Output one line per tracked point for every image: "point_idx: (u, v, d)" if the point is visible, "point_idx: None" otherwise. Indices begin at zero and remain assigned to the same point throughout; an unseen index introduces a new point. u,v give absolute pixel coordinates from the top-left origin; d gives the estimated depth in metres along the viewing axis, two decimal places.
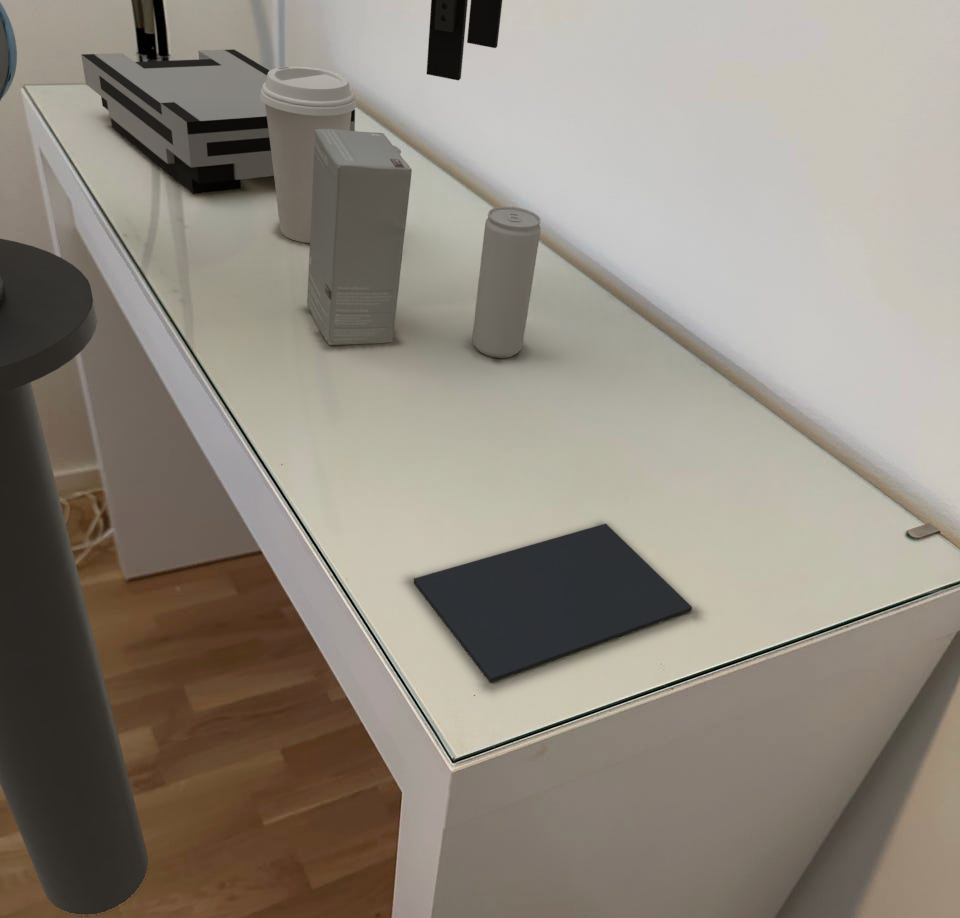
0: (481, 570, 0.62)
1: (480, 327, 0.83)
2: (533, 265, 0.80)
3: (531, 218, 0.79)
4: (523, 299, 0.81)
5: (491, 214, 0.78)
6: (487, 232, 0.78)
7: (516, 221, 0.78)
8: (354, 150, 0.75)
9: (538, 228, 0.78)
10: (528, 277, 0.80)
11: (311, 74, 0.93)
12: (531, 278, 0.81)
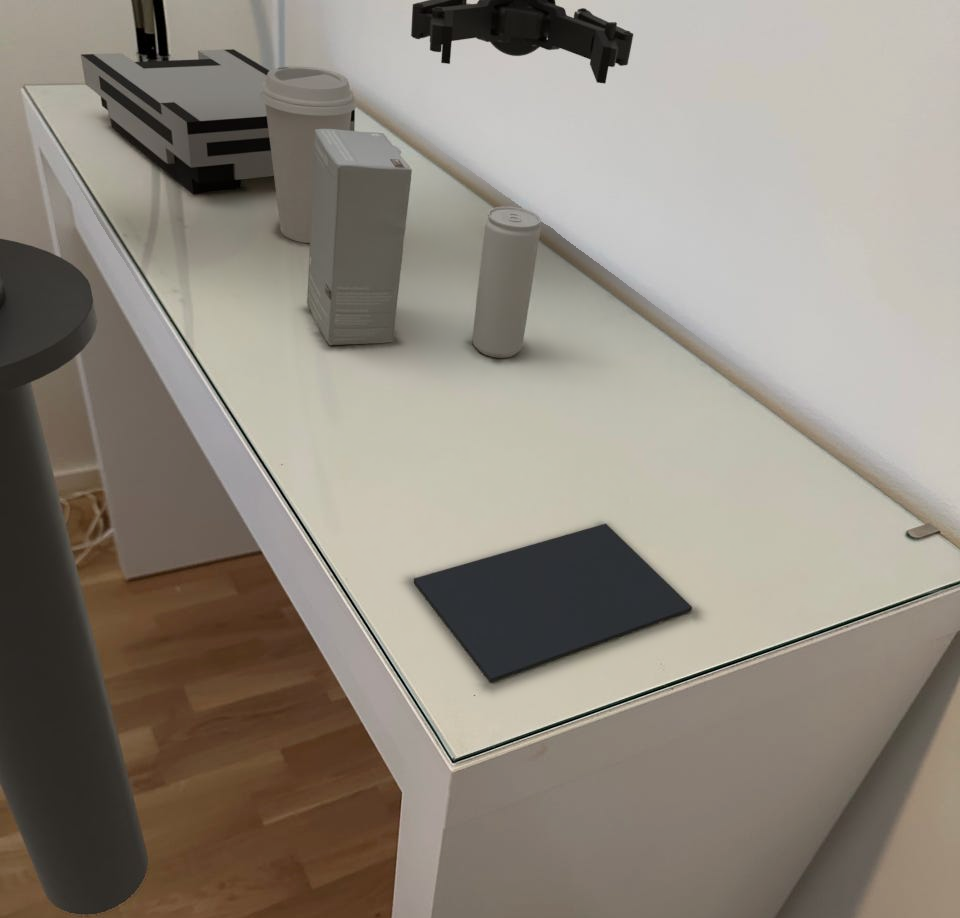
0: (481, 570, 0.62)
1: (480, 327, 0.83)
2: (533, 265, 0.80)
3: (531, 218, 0.79)
4: (523, 299, 0.81)
5: (491, 214, 0.78)
6: (487, 232, 0.78)
7: (516, 221, 0.78)
8: (354, 150, 0.75)
9: (538, 228, 0.78)
10: (528, 277, 0.80)
11: (311, 74, 0.93)
12: (531, 278, 0.81)
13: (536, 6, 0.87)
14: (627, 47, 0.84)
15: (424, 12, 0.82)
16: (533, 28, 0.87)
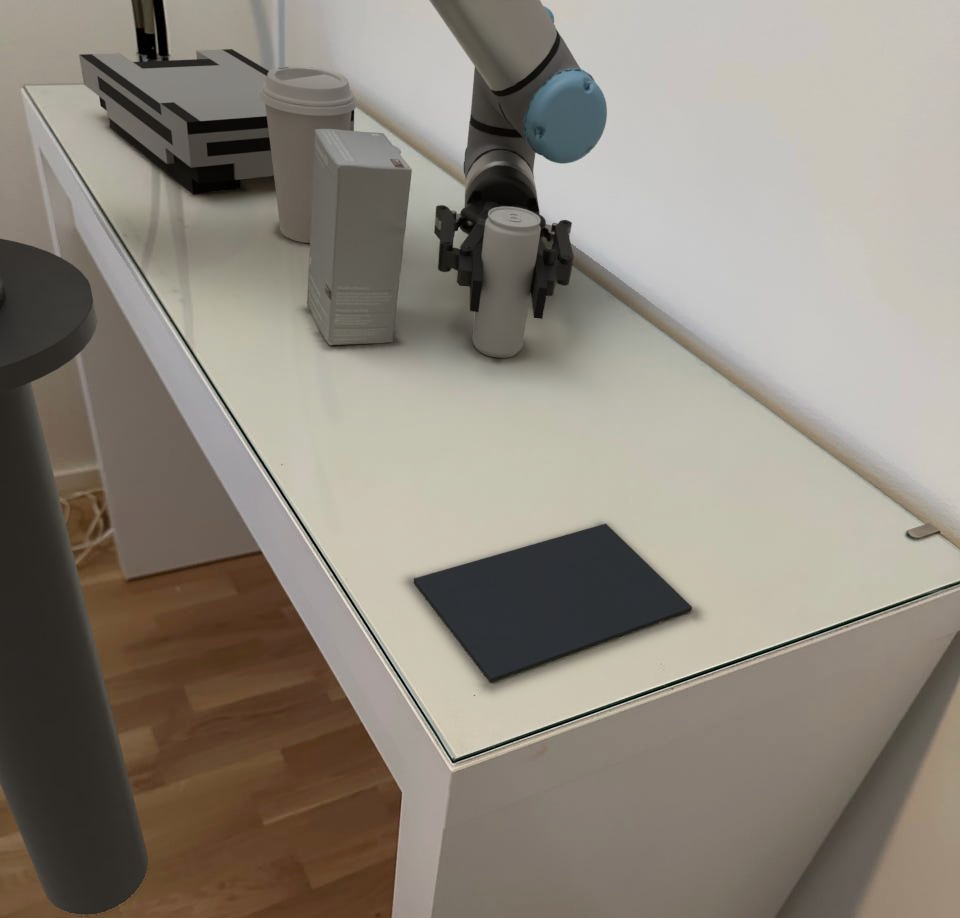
0: (481, 570, 0.62)
1: (480, 327, 0.83)
2: (533, 265, 0.80)
3: (531, 218, 0.79)
4: (523, 299, 0.81)
5: (491, 214, 0.78)
6: (487, 232, 0.78)
7: (516, 221, 0.78)
8: (354, 150, 0.75)
9: (538, 228, 0.78)
10: (528, 277, 0.80)
11: (311, 74, 0.93)
12: (531, 278, 0.81)
13: None
14: (565, 270, 0.83)
15: (451, 249, 0.82)
16: None
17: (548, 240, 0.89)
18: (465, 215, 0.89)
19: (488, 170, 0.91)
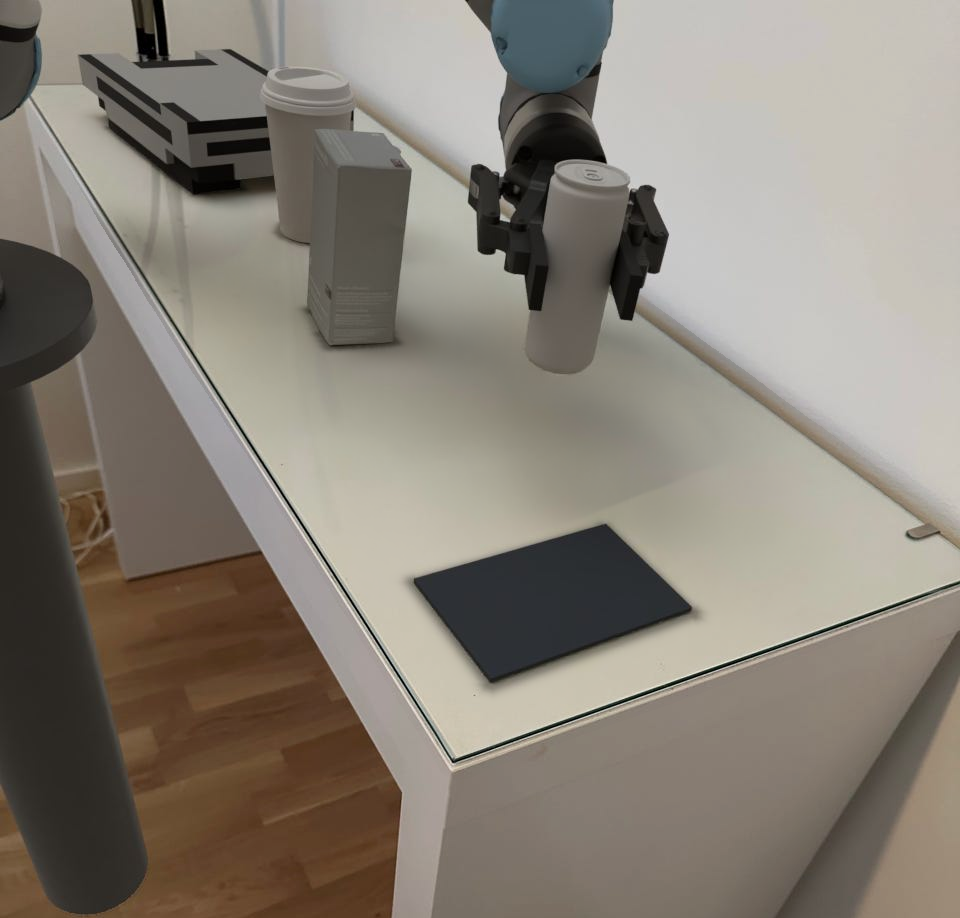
0: (481, 570, 0.62)
1: (537, 332, 0.59)
2: (617, 244, 0.56)
3: (616, 175, 0.55)
4: (601, 293, 0.57)
5: (559, 170, 0.54)
6: (554, 195, 0.54)
7: (596, 179, 0.54)
8: (354, 150, 0.75)
9: (626, 190, 0.54)
10: (609, 261, 0.56)
11: (311, 74, 0.93)
12: (613, 262, 0.57)
13: None
14: (656, 252, 0.59)
15: (498, 222, 0.58)
16: None
17: None
18: (511, 178, 0.65)
19: (540, 118, 0.67)
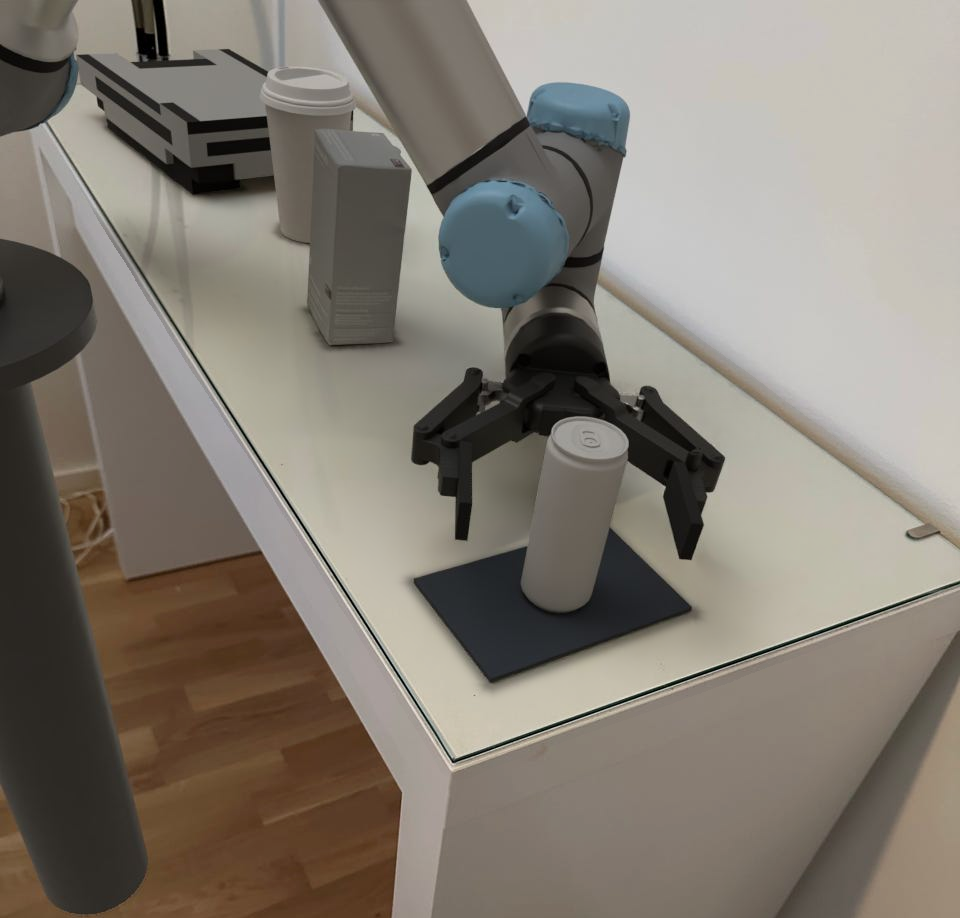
0: (481, 570, 0.62)
1: (534, 575, 0.58)
2: (615, 501, 0.55)
3: (614, 438, 0.53)
4: (598, 544, 0.56)
5: (556, 433, 0.53)
6: (550, 461, 0.53)
7: (593, 446, 0.52)
8: (354, 150, 0.75)
9: (625, 454, 0.53)
10: (607, 518, 0.55)
11: (311, 74, 0.93)
12: (611, 516, 0.56)
13: (585, 396, 0.63)
14: (716, 474, 0.60)
15: (430, 437, 0.58)
16: None
17: None
18: (509, 391, 0.63)
19: (539, 322, 0.66)
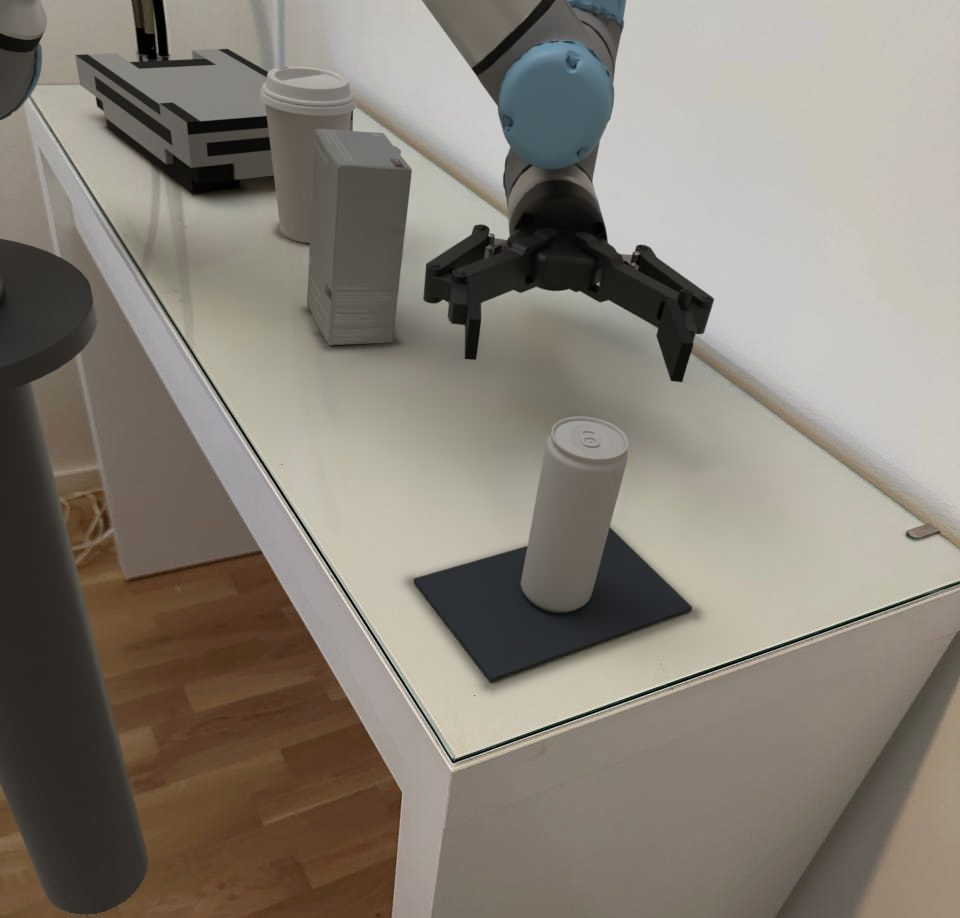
0: (481, 570, 0.62)
1: (534, 575, 0.58)
2: (615, 501, 0.55)
3: (614, 438, 0.53)
4: (598, 544, 0.56)
5: (555, 433, 0.53)
6: (550, 460, 0.53)
7: (593, 446, 0.52)
8: (354, 150, 0.75)
9: (625, 454, 0.53)
10: (607, 518, 0.55)
11: (311, 74, 0.93)
12: (611, 516, 0.56)
13: (584, 249, 0.68)
14: (705, 315, 0.64)
15: (441, 274, 0.63)
16: (581, 277, 0.67)
17: None
18: None
19: (542, 186, 0.70)
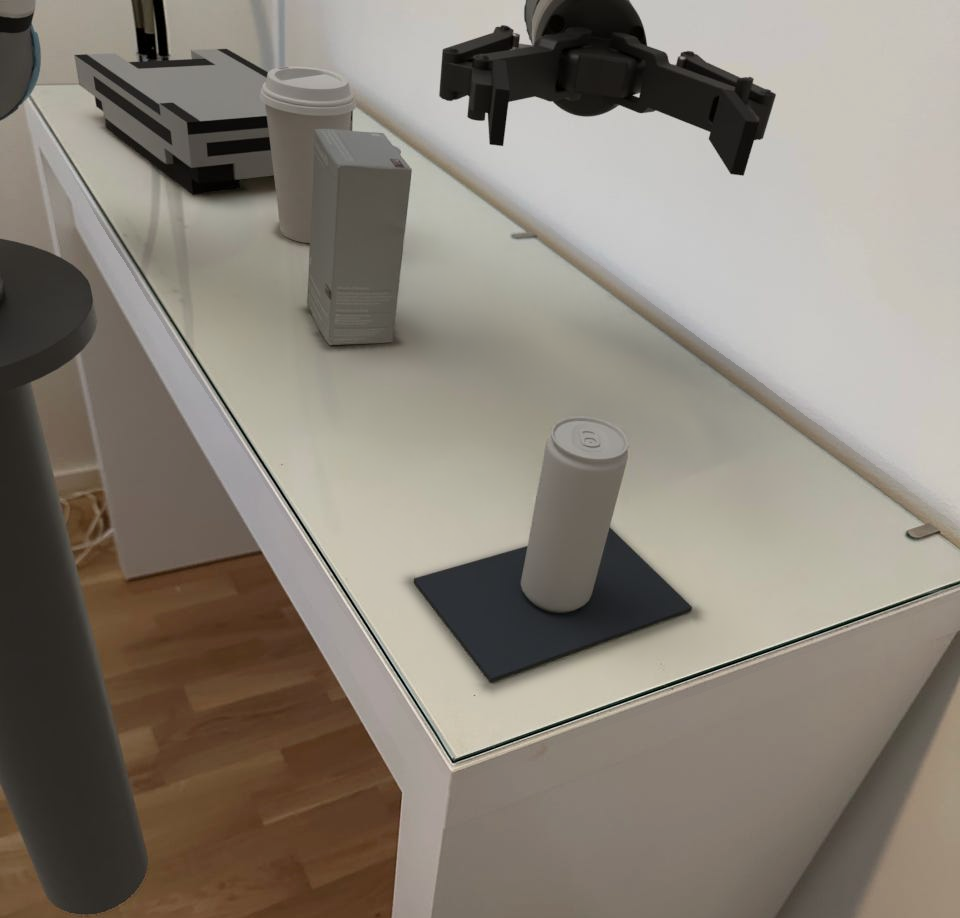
0: (481, 570, 0.62)
1: (534, 575, 0.58)
2: (615, 501, 0.55)
3: (614, 438, 0.53)
4: (598, 544, 0.56)
5: (555, 433, 0.53)
6: (550, 460, 0.53)
7: (593, 446, 0.52)
8: (354, 150, 0.75)
9: (625, 454, 0.53)
10: (607, 518, 0.55)
11: (311, 74, 0.93)
12: (611, 516, 0.56)
13: (623, 49, 0.59)
14: (765, 114, 0.56)
15: (460, 61, 0.54)
16: (619, 81, 0.59)
17: None
18: None
19: None
